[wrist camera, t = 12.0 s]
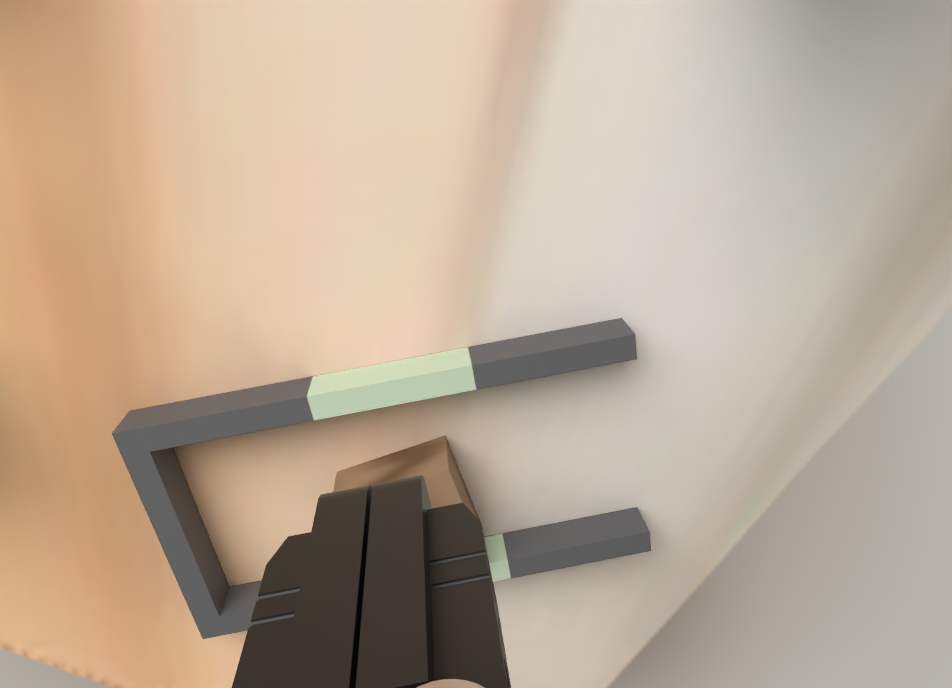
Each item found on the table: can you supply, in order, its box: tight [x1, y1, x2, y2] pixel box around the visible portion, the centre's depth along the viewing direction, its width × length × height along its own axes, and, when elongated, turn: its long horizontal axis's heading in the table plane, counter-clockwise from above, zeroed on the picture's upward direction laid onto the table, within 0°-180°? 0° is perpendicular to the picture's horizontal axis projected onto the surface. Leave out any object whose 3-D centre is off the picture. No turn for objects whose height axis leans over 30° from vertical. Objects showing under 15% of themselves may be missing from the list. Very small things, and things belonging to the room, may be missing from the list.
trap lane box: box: [112, 318, 651, 639], centre depth 40 cm, size 28×15×2 cm, turn 100°
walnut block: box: [334, 436, 480, 521], centre depth 40 cm, size 7×7×4 cm
